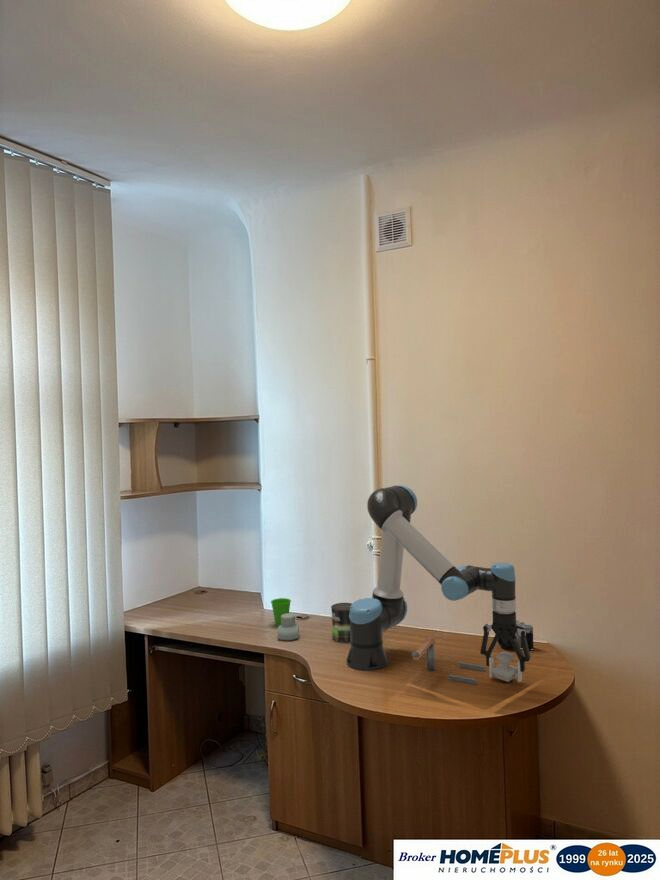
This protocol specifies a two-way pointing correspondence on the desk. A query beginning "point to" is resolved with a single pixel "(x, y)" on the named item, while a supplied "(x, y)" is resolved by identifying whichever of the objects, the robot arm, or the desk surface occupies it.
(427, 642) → the ball-knob lever
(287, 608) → the cup
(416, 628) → the desk surface
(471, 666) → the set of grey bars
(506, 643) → the camera
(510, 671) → the stamp
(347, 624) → the coffee can
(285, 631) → the air freshener
